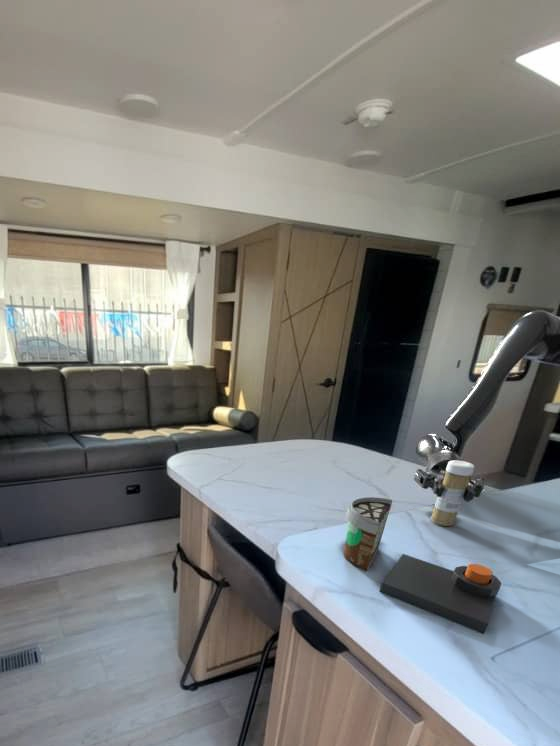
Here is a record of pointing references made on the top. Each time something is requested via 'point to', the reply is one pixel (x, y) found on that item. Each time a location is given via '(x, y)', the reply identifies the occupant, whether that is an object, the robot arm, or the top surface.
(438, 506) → the sprinkles bottle
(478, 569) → the button
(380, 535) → the food container
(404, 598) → the scale
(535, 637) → the top surface
